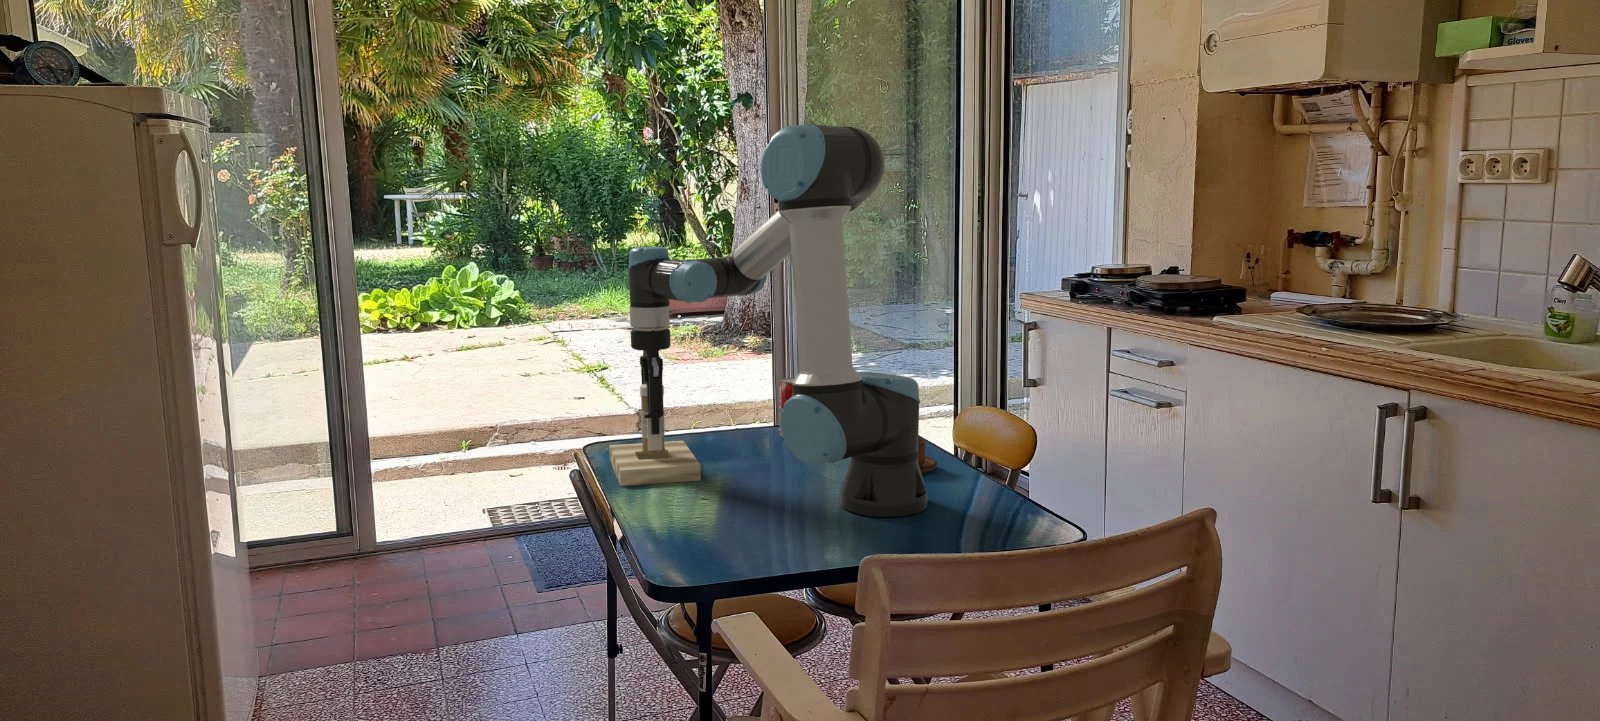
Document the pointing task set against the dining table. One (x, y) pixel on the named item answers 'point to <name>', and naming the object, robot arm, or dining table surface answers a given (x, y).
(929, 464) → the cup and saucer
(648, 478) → the socket plate
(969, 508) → the dining table surface
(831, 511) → the dining table surface
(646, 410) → the sprinkles bottle
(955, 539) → the dining table surface
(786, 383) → the soda can
